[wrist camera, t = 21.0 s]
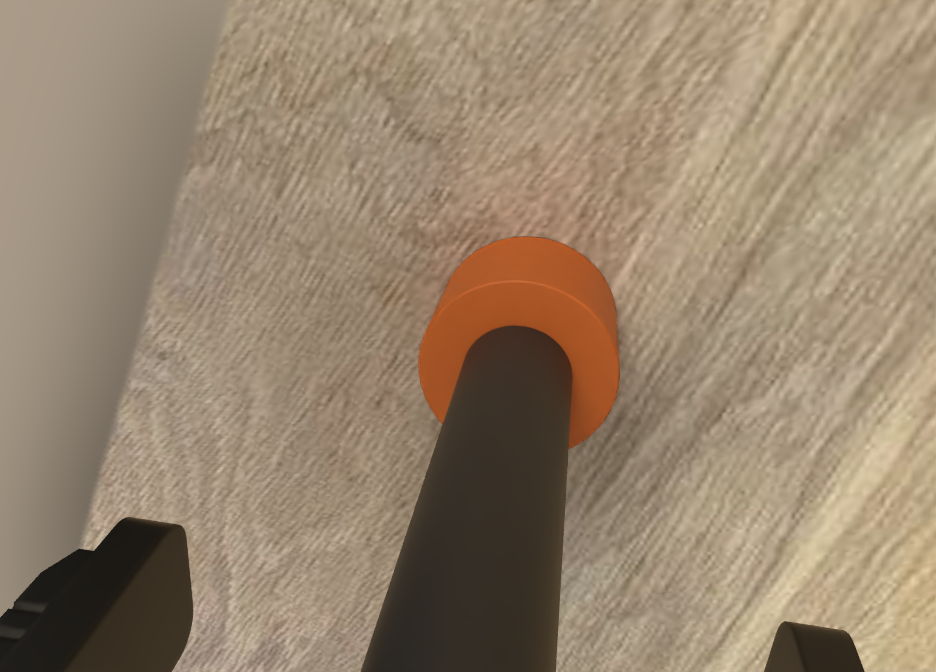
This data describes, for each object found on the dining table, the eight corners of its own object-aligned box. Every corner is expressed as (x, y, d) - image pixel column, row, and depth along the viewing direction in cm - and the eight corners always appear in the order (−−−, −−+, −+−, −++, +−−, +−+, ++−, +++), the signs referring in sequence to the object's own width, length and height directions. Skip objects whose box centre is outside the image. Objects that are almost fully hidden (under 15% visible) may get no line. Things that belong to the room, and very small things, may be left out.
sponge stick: (411, 275, 20) (109, 789, 8) (575, 207, 19) (533, 693, 6) (485, 418, 22) (333, 1049, 9) (643, 363, 20) (717, 1013, 8)
